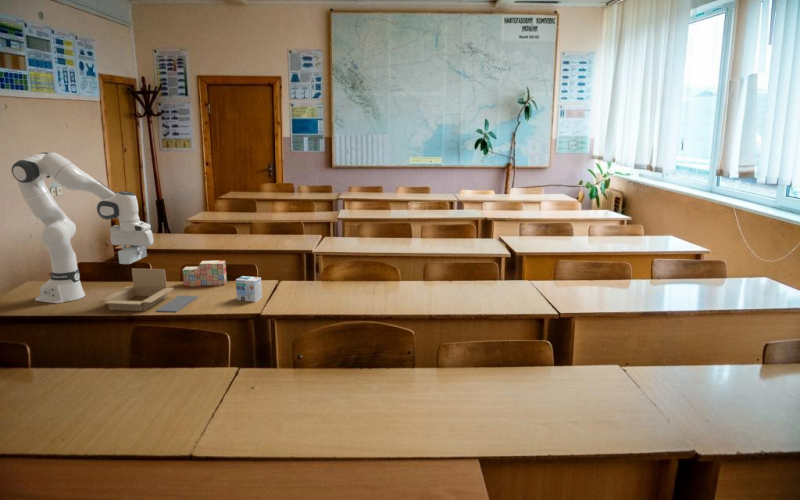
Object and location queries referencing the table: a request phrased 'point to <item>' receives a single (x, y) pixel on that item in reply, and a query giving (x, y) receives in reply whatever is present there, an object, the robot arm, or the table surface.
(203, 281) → the stack of blocks
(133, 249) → the box
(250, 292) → the light bulb box
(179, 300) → the mat
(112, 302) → the carton
